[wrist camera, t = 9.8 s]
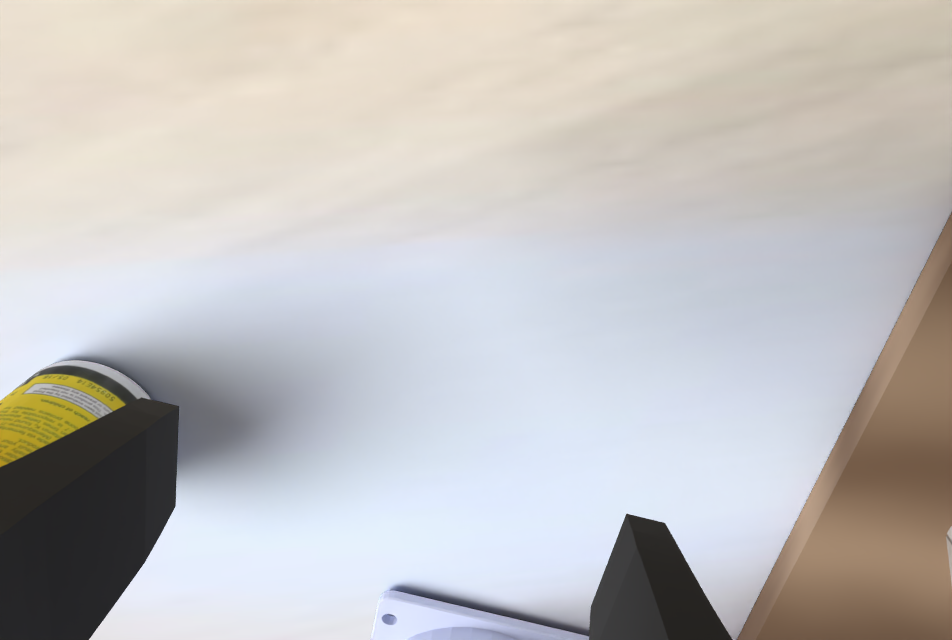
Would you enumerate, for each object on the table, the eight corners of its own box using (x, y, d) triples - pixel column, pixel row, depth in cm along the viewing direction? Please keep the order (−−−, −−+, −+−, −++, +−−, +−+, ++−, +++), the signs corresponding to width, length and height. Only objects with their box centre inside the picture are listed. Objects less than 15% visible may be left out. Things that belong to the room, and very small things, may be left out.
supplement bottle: (33, 334, 24) (-219, 514, 16) (181, 386, 24) (0, 588, 16) (22, 452, 26) (-206, 660, 18) (157, 499, 26) (-12, 724, 18)
